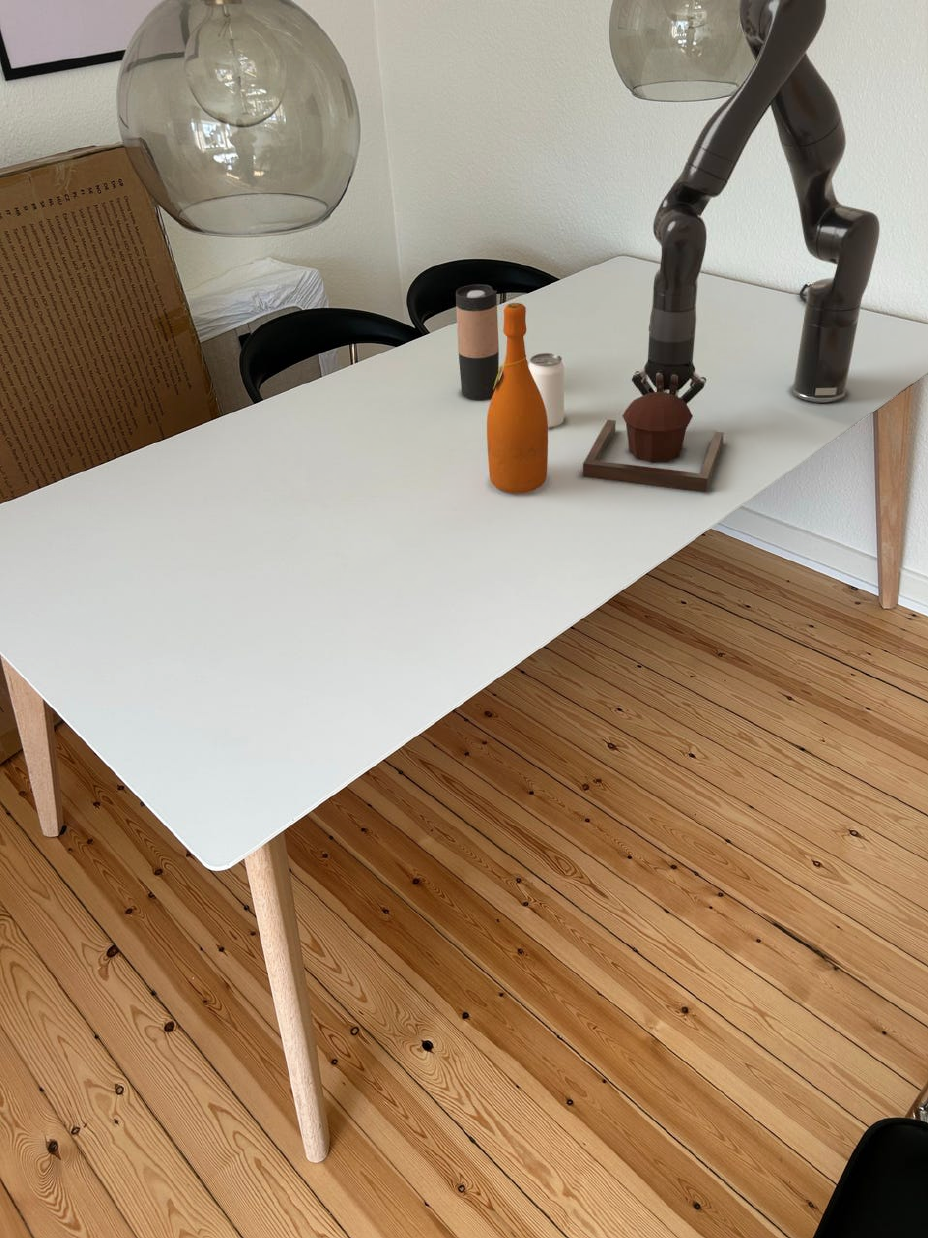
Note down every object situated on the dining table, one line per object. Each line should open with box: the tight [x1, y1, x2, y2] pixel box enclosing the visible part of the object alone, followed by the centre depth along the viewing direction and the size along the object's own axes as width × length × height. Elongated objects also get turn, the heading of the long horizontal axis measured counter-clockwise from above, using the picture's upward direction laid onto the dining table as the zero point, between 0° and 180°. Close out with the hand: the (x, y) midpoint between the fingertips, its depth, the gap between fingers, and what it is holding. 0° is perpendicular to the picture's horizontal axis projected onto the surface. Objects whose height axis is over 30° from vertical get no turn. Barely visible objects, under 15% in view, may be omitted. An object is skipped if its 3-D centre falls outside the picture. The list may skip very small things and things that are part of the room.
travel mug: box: [455, 284, 500, 401], centre depth 193 cm, size 8×8×20 cm
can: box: [528, 352, 565, 429], centre depth 184 cm, size 6×6×12 cm
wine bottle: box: [486, 302, 549, 494], centre depth 161 cm, size 10×10×30 cm
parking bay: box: [582, 419, 725, 493], centre depth 172 cm, size 17×20×2 cm
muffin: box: [621, 391, 694, 464], centre depth 173 cm, size 12×11×10 cm
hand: (665, 426), depth 180 cm, fingers closed
